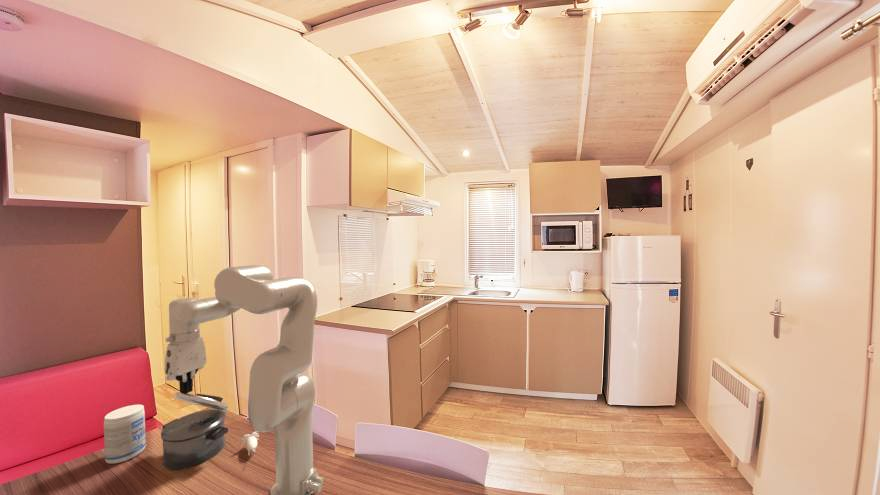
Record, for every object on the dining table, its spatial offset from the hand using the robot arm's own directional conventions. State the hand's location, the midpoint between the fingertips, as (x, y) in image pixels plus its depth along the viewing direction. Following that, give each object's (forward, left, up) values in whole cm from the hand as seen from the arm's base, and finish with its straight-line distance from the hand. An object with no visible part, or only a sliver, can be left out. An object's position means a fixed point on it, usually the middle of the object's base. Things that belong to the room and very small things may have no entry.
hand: (186, 391), depth 100 cm
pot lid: (0, -4, -6) cm, 8 cm away
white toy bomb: (-19, -7, -22) cm, 30 cm away
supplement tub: (+22, +4, -22) cm, 31 cm away
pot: (0, -2, -22) cm, 22 cm away
